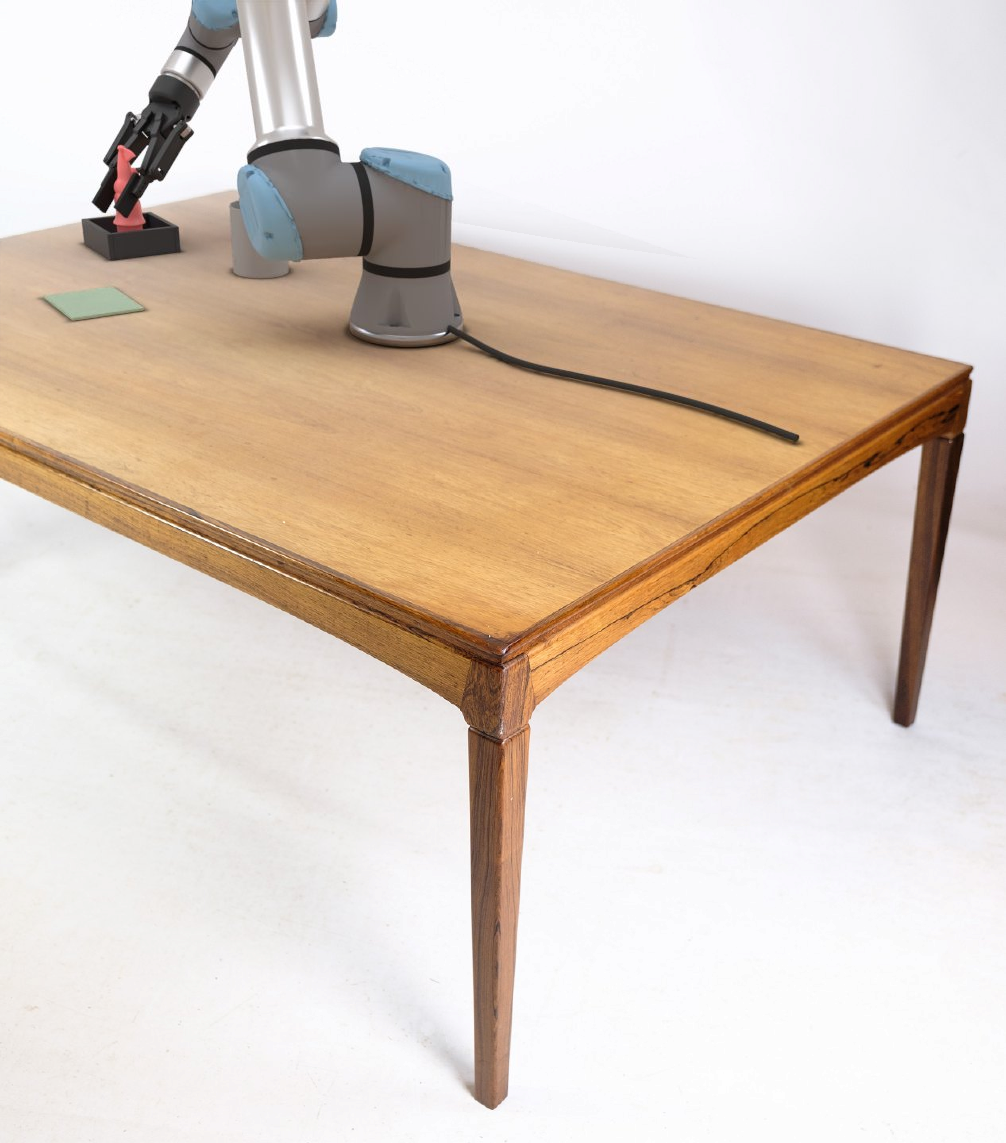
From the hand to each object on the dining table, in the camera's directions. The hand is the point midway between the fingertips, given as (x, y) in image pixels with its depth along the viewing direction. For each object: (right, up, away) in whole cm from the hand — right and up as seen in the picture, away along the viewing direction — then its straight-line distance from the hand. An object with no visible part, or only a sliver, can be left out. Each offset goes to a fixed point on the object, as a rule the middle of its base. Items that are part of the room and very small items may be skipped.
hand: (109, 210), depth 201 cm
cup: (+24, -10, -3) cm, 27 cm away
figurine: (+2, -4, +6) cm, 7 cm away
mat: (+4, -19, -22) cm, 29 cm away
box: (+2, -4, +6) cm, 8 cm away
